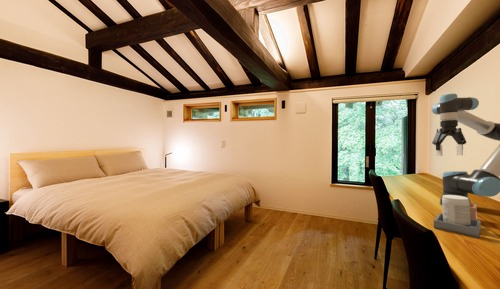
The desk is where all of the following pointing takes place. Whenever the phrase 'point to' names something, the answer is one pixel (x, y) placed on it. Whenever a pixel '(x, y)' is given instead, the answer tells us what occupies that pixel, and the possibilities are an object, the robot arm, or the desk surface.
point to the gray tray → (458, 227)
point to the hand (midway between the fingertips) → (449, 155)
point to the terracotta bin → (473, 211)
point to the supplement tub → (456, 210)
